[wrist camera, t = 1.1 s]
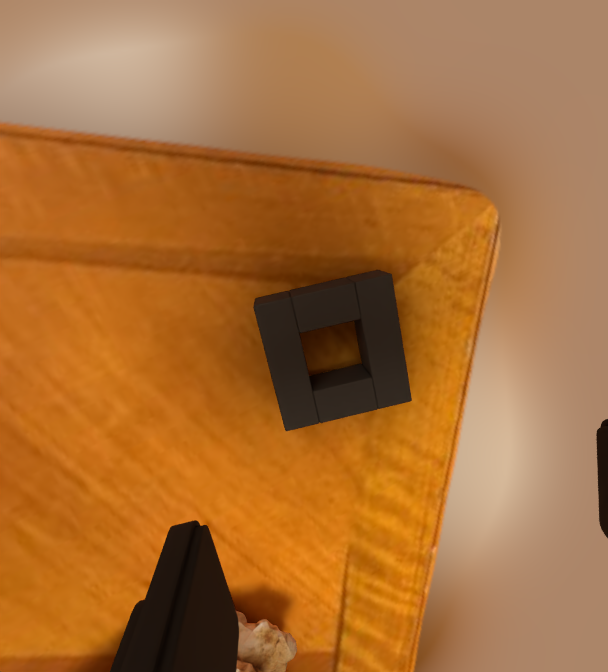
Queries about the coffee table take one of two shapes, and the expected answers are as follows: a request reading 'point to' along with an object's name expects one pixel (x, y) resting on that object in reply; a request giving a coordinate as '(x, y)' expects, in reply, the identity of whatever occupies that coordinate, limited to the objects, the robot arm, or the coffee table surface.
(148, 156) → the coffee table surface
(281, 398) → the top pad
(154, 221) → the coffee table surface
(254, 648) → the mineral formation
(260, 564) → the coffee table surface
